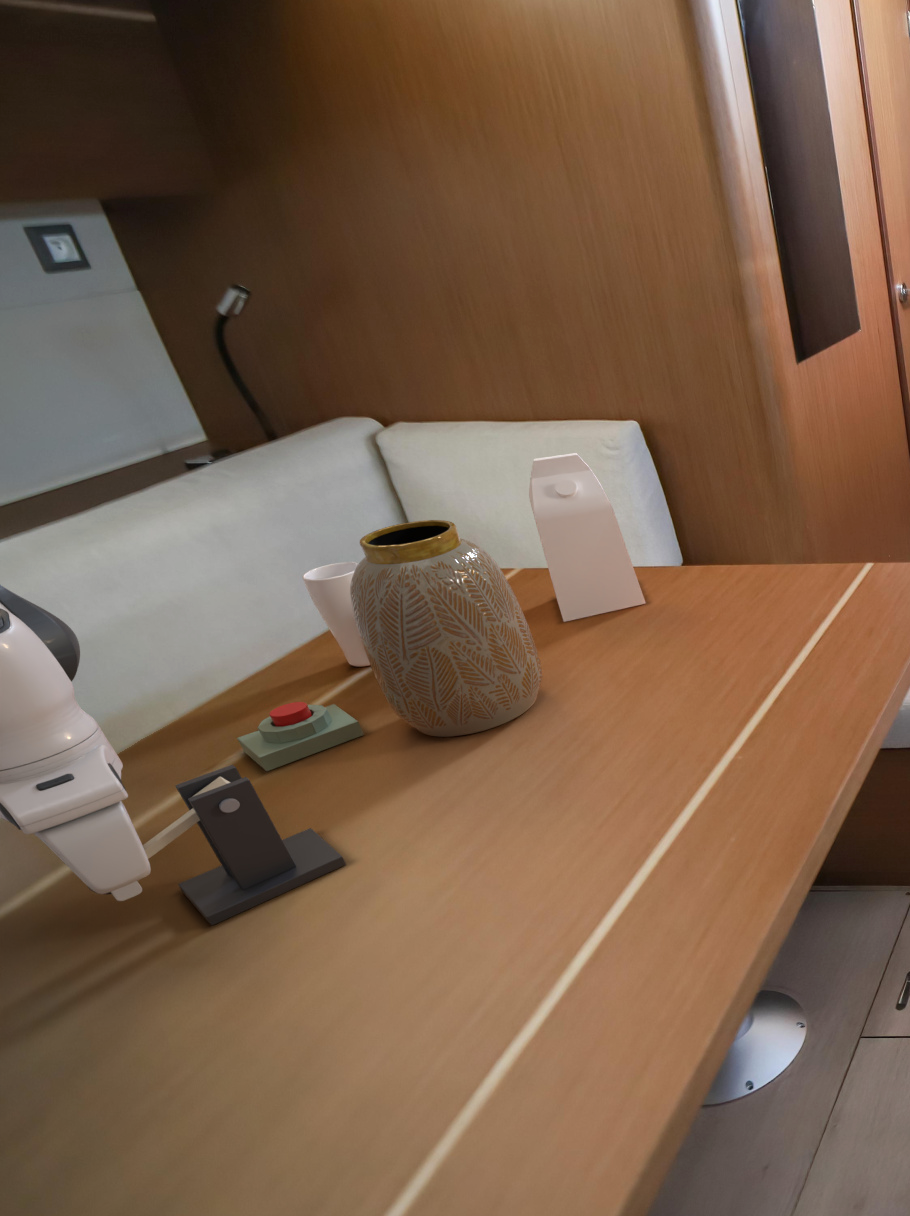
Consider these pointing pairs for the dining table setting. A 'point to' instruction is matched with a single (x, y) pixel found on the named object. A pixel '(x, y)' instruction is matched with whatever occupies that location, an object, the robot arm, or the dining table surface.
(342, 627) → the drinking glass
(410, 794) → the dining table surface
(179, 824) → the lever switch
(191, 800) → the lever on stand
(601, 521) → the milk
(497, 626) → the vase
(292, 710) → the power button
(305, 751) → the green button base
